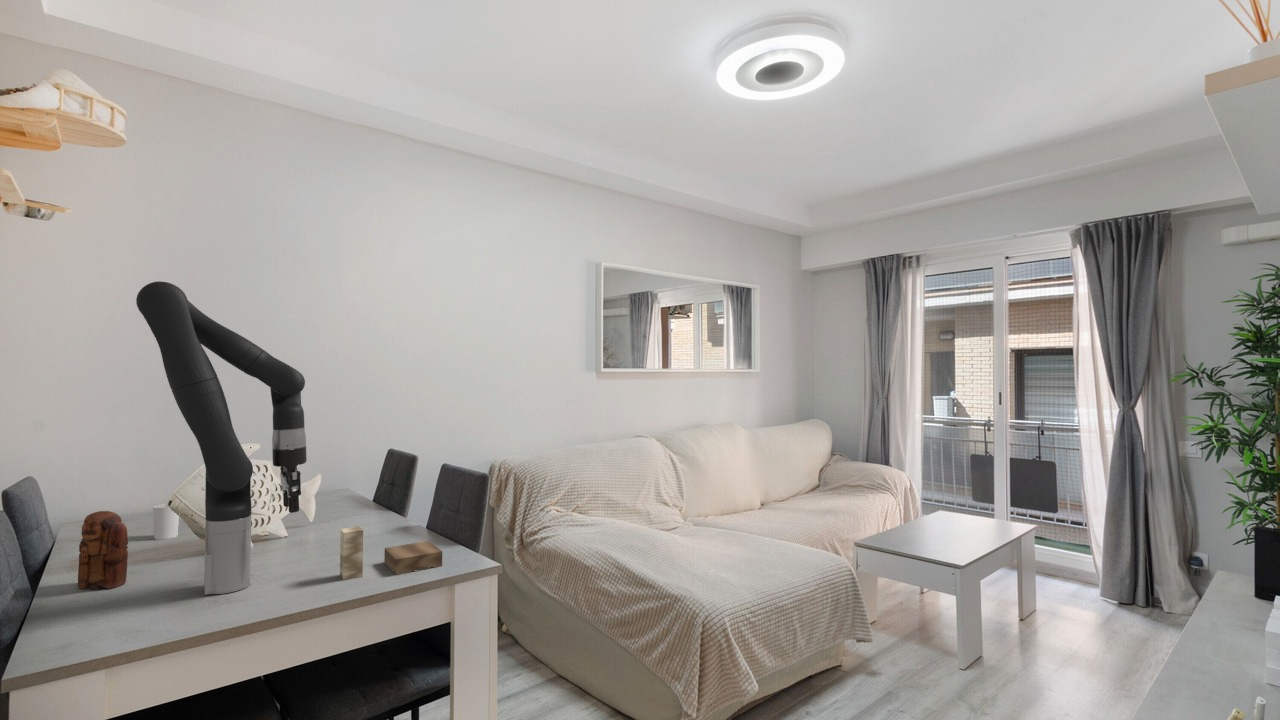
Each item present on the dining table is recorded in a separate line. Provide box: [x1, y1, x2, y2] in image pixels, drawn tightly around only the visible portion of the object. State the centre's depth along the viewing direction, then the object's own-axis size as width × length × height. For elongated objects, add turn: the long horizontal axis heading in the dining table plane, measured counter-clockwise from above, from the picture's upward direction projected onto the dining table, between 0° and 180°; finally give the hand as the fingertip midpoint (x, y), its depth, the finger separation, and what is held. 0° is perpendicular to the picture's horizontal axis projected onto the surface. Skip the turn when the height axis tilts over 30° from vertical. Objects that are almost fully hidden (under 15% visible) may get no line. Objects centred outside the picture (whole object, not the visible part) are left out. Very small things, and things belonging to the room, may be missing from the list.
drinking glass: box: [152, 502, 180, 541], centre depth 187 cm, size 7×7×10 cm
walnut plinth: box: [384, 540, 443, 576], centre depth 162 cm, size 12×12×4 cm
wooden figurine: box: [77, 510, 129, 590], centre depth 146 cm, size 12×6×18 cm, turn 86°
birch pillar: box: [339, 525, 364, 581], centre depth 153 cm, size 4×4×12 cm
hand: (291, 509), depth 153 cm, fingers open, 8 cm apart
